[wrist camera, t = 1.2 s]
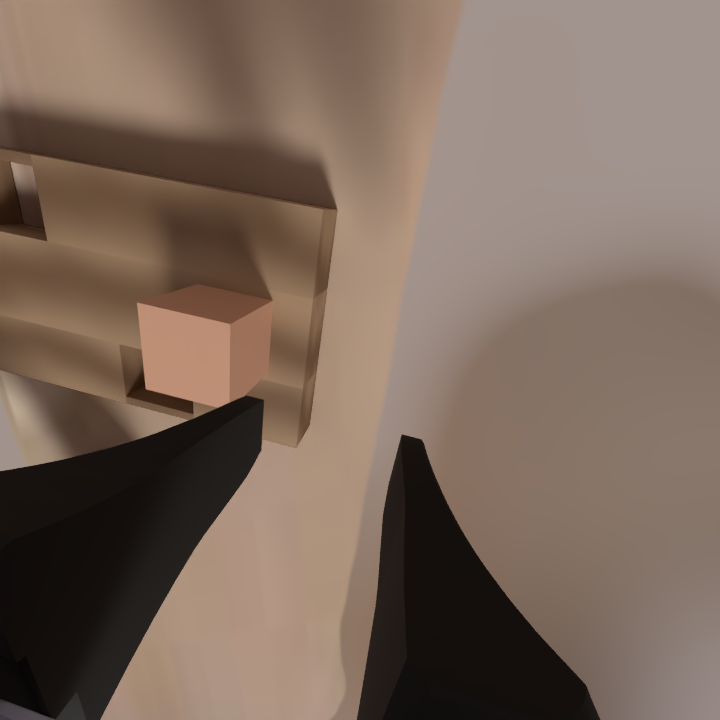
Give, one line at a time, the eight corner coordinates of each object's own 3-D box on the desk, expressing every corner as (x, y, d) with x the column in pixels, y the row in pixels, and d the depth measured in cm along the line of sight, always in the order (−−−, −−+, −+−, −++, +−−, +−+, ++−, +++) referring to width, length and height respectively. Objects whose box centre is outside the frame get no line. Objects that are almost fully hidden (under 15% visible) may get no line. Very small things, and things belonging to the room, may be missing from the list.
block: (268, 372, 19) (229, 410, 15) (199, 355, 19) (145, 389, 16) (273, 300, 17) (230, 324, 14) (197, 284, 18) (137, 302, 14)
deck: (309, 424, 23) (275, 484, 18) (-42, 334, 25) (-157, 364, 20) (337, 209, 17) (299, 208, 12) (-111, 125, 20) (-289, 96, 15)
